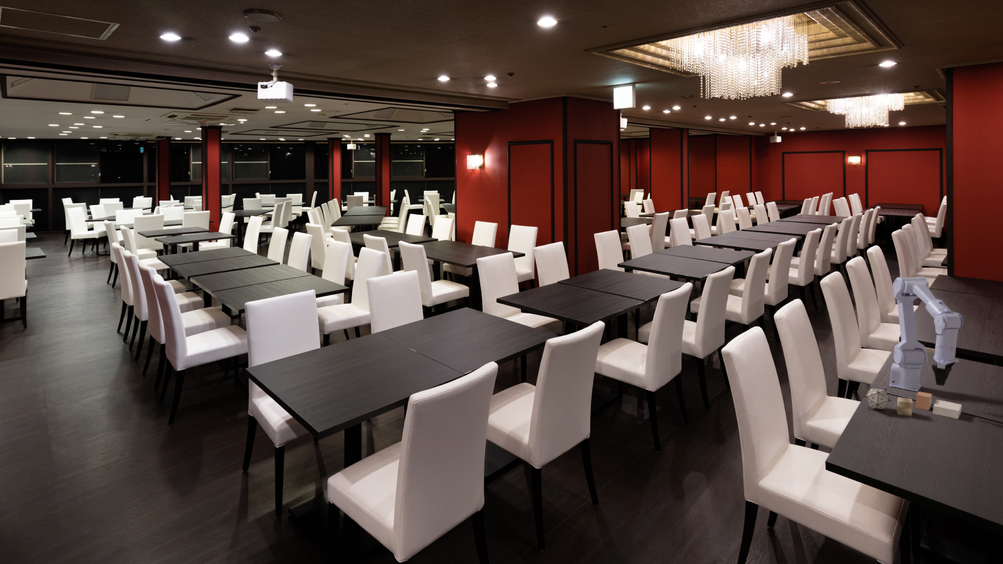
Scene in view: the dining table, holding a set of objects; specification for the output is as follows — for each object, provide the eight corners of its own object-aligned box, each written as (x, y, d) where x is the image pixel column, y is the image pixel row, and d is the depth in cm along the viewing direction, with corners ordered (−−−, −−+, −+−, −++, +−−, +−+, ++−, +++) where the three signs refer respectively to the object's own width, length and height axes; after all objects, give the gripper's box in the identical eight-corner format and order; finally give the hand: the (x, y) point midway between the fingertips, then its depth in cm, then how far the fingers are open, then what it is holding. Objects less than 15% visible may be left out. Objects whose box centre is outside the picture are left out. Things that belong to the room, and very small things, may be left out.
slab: (932, 413, 198) (933, 405, 197) (936, 407, 203) (937, 399, 202) (957, 419, 193) (958, 410, 192) (960, 412, 198) (961, 404, 197)
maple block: (897, 414, 199) (898, 401, 198) (896, 410, 202) (897, 397, 201) (911, 416, 197) (912, 403, 196) (910, 411, 200) (911, 398, 199)
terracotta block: (915, 407, 203) (916, 394, 203) (917, 404, 206) (918, 391, 205) (928, 410, 201) (930, 397, 200) (930, 406, 203) (932, 394, 202)
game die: (878, 420, 202) (880, 406, 196) (856, 405, 209) (858, 390, 202) (896, 406, 204) (899, 391, 197) (873, 391, 210) (876, 376, 203)
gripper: (957, 353, 191) (953, 390, 194) (962, 343, 201) (958, 378, 204) (931, 349, 196) (927, 385, 198) (938, 339, 206) (934, 374, 209)
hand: (941, 381), depth 201 cm, fingers open, 7 cm apart
